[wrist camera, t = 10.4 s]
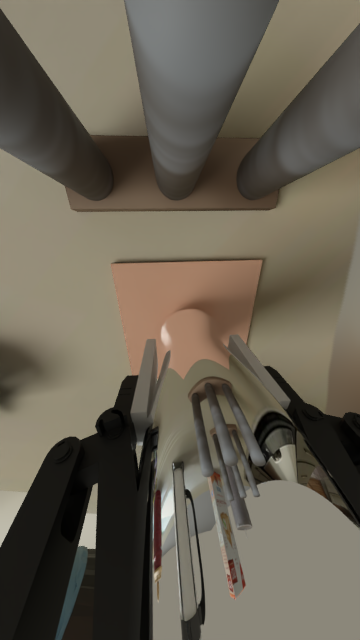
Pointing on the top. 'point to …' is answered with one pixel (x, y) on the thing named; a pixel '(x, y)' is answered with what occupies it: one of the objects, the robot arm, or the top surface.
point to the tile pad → (183, 298)
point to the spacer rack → (181, 115)
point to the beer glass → (235, 508)
